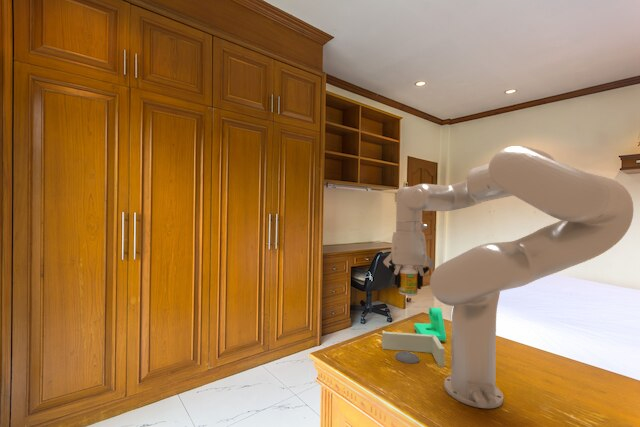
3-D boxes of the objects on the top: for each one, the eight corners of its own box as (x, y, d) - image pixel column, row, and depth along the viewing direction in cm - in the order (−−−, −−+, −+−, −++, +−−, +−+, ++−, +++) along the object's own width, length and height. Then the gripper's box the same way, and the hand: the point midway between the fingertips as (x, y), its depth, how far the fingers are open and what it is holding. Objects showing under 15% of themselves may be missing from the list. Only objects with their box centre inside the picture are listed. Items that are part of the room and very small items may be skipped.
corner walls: (444, 366, 84) (444, 349, 84) (384, 361, 86) (384, 344, 86) (435, 351, 94) (435, 335, 94) (381, 346, 97) (382, 331, 97)
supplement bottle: (406, 296, 86) (406, 263, 86) (395, 292, 91) (395, 260, 91) (421, 295, 88) (421, 262, 88) (409, 291, 93) (410, 260, 93)
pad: (421, 364, 85) (421, 363, 85) (396, 362, 86) (396, 361, 86) (416, 353, 92) (417, 352, 92) (393, 351, 93) (393, 350, 93)
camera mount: (413, 329, 113) (414, 302, 113) (434, 330, 112) (434, 303, 113) (423, 343, 101) (423, 312, 101) (445, 343, 100) (446, 313, 101)
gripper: (435, 228, 92) (434, 286, 92) (379, 227, 95) (378, 283, 94) (441, 228, 85) (441, 292, 85) (380, 227, 87) (380, 289, 87)
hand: (408, 287), depth 89 cm, fingers closed on supplement bottle, 5 cm apart
